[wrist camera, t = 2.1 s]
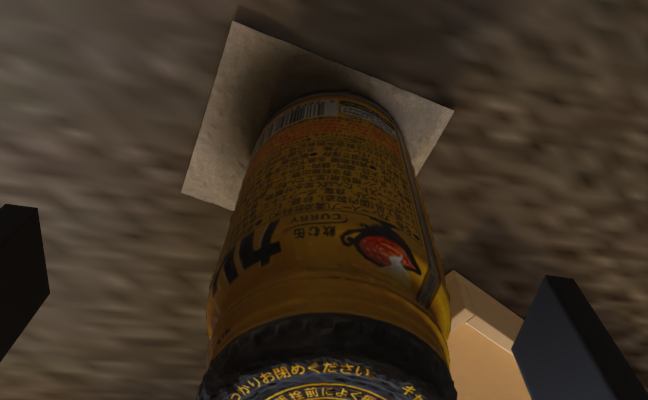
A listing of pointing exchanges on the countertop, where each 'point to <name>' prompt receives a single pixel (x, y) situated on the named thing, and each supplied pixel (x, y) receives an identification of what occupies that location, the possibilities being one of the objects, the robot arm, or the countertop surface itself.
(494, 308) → the tray
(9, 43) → the countertop surface
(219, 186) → the condiment
